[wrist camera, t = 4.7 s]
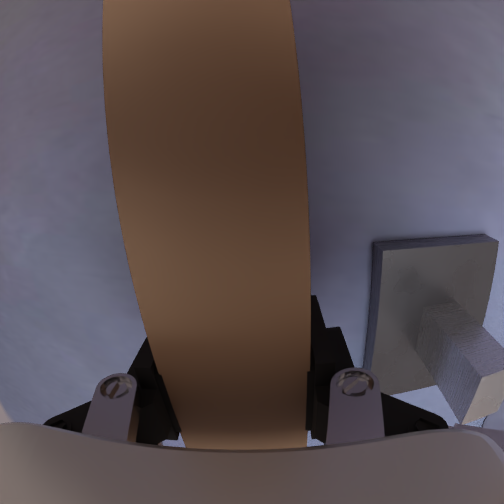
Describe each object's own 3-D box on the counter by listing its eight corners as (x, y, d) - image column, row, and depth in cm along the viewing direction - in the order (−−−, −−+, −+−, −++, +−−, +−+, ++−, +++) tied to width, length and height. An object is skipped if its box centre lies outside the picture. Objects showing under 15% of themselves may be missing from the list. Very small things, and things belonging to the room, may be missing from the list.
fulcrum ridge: (373, 242, 16) (447, 314, 9) (484, 234, 16) (573, 283, 8) (360, 384, 19) (392, 479, 12) (457, 364, 19) (507, 437, 11)
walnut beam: (163, 21, 9) (106, -37, 4) (273, 6, 9) (278, -69, 4) (233, 469, 17) (227, 533, 12) (295, 467, 17) (299, 532, 12)
